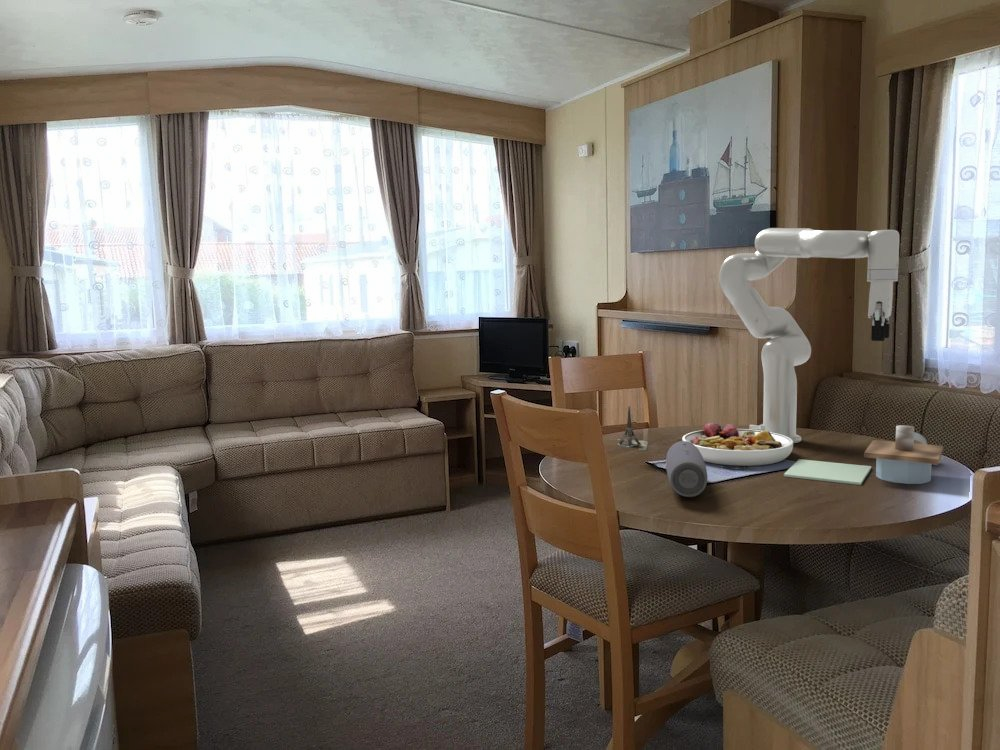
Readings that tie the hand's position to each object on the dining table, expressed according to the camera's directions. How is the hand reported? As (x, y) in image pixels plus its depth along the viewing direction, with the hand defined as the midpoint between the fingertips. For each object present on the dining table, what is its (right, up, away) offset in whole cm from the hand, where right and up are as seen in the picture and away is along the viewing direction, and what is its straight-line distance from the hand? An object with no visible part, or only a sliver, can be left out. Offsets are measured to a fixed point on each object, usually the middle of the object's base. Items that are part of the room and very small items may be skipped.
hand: (880, 339), depth 218 cm
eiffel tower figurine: (-64, -32, +25) cm, 76 cm away
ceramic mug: (+7, -33, -5) cm, 35 cm away
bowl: (-37, -33, +8) cm, 50 cm away
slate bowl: (-4, -35, -20) cm, 41 cm away
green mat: (-20, -35, -13) cm, 42 cm away
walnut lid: (-4, -29, -21) cm, 36 cm away
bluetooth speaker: (-59, -38, -25) cm, 74 cm away
